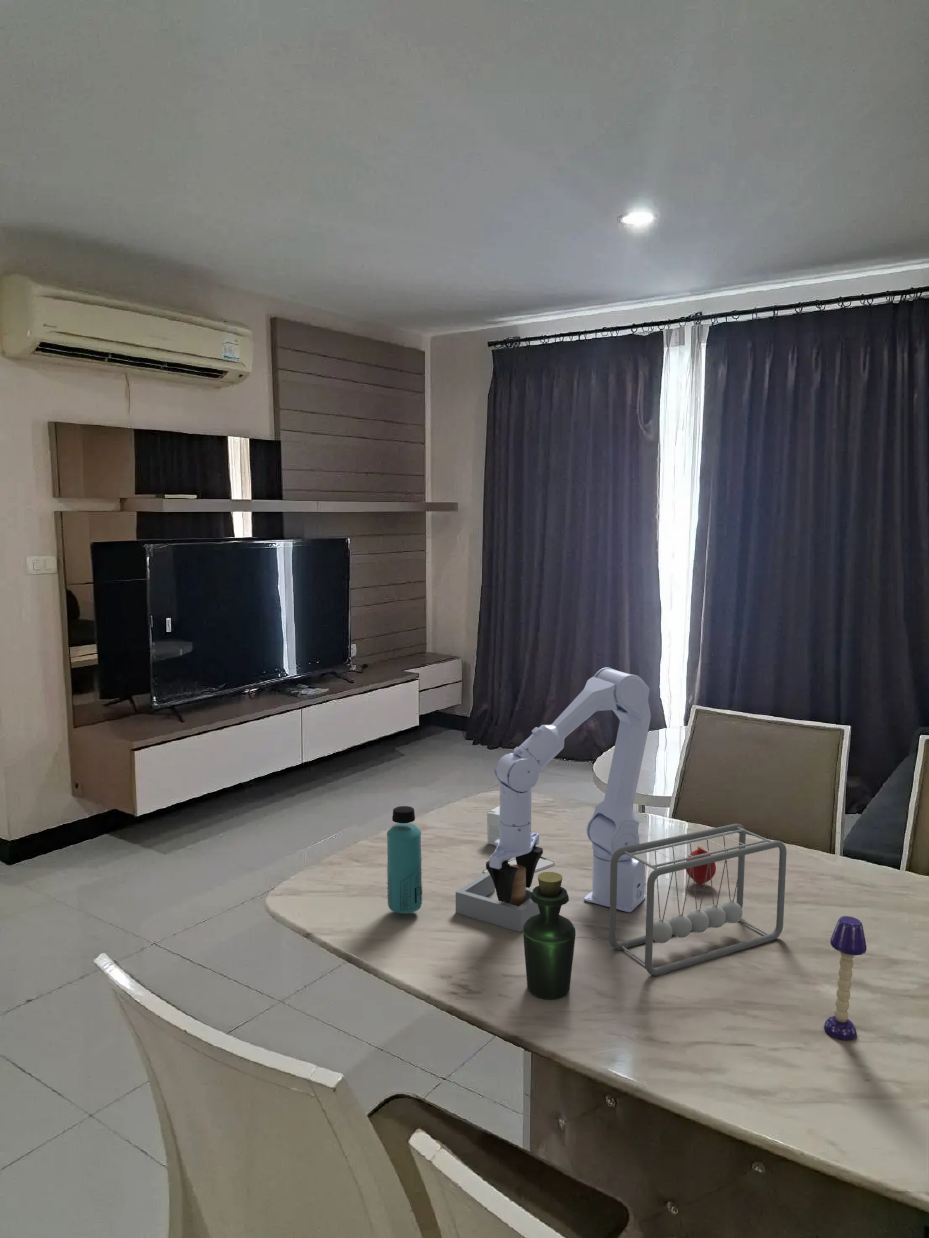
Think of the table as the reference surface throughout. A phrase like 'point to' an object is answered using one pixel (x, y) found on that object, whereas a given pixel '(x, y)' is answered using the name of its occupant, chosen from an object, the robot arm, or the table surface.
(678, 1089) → the table surface
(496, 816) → the skincare box
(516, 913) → the channel
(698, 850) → the onion
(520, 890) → the peg
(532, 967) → the potion bottle
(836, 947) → the toy lamp
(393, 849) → the beverage bottle
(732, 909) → the newton's cradle
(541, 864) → the smartphone
